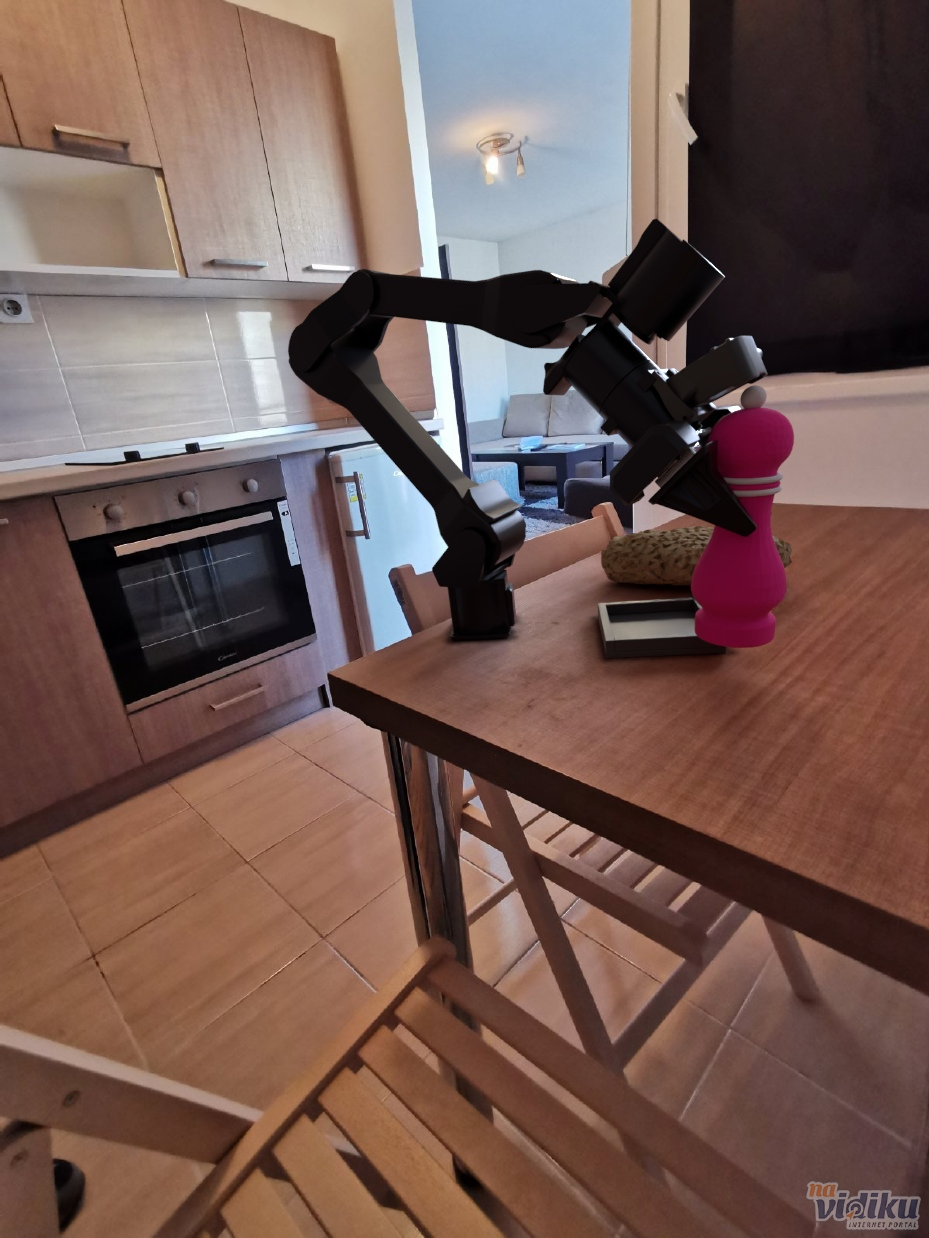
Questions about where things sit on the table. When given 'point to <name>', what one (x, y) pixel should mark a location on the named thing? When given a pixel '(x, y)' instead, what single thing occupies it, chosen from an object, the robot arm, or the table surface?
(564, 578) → the table surface
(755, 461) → the pepper mill
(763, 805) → the table surface
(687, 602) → the shallow square tray
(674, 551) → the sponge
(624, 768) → the table surface
